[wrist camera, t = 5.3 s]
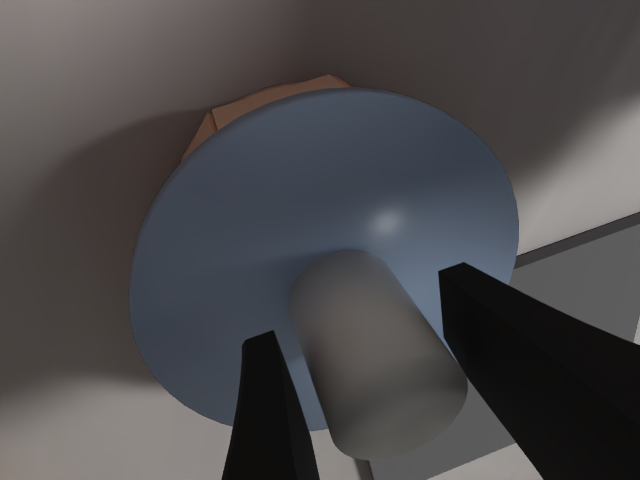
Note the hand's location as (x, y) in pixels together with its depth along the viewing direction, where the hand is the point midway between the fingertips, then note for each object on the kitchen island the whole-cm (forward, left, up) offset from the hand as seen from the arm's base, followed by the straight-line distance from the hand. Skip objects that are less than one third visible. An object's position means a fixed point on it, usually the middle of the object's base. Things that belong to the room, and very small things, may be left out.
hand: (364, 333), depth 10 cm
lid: (0, 0, -3) cm, 3 cm away
